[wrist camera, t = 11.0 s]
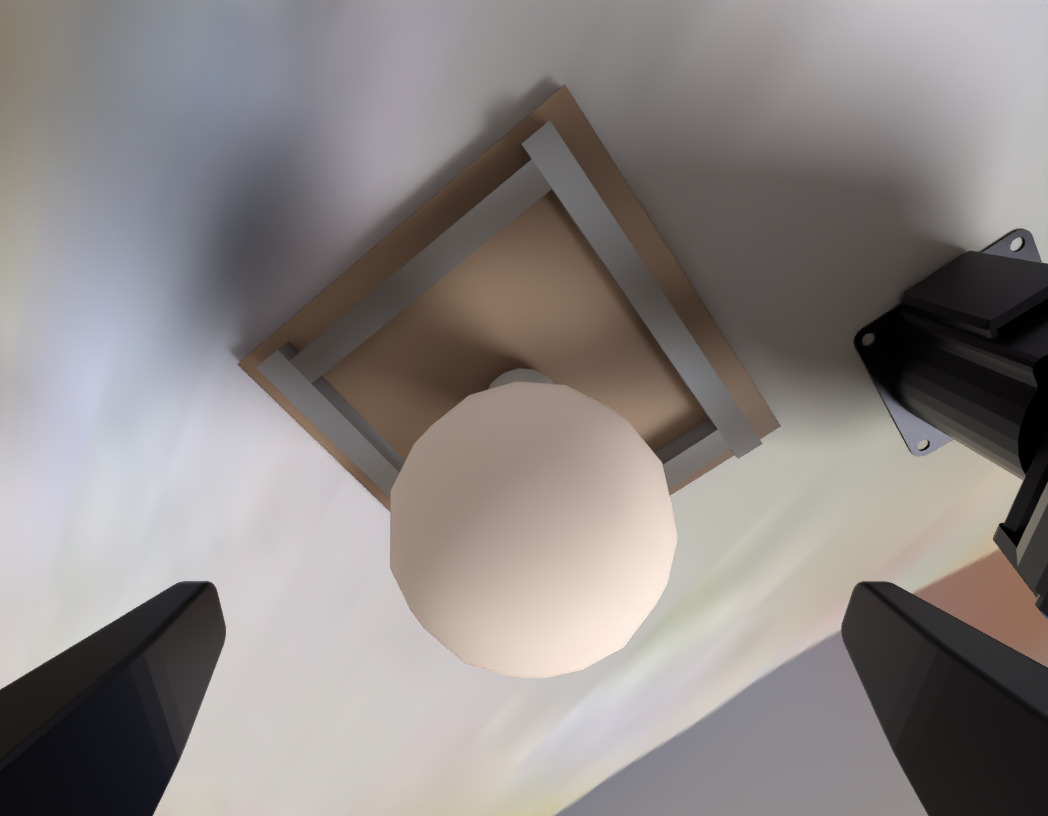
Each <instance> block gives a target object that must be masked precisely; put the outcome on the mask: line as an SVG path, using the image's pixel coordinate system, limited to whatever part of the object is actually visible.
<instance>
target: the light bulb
mask: <svg viewBox="0 0 1048 816" xmlns="http://www.w3.org/2000/svg"><path fill="white" fill-rule="evenodd" d="M677 540H678V538H677V532H676V526H675V520H674V515H673V509H672V504H671V500H670V496H669V491H668V487H667V482H666V478H665V474H664V469H663V465H662V462H661V461H660V460H659V458H658V457H657V456H656V455H655V453H654V452H653V451H652V450H651V449H650V447H649V446H648V445H647V444H646V443H645V441H644V440H643V439H642V438H641V436H640V435H639V434H638V433H637V432H636V430H635V429H634V428H633V427H632V425H631V424H630V423H629V422H628V421H627V420H626V419H624V418H623V417H622V416H621V415H619V414H618V413H617V412H616V411H614V410H613V409H612V408H611V407H609V406H607V405H605V404H603V403H601V402H599V401H597V400H595V399H593V398H591V397H589V396H587V395H585V394H583V393H581V392H579V391H577V390H575V389H573V388H570V387H568V386H566V385H558V384H554V383H553V382H552V381H551V380H550V378H549V377H548V376H546V375H544V374H542V373H540V372H538V371H536V370H532V369H520V368H518V369H515V370H511V371H508V372H505V373H503V374H502V375H500V376H499V377H498V378H497V379H495V380H494V381H493V382H492V383H491V384H490V386H489V388H488V390H485V391H482V392H478V393H475V394H471V395H469V396H468V397H466V398H465V399H464V400H463V401H461V402H460V403H459V404H458V405H456V406H455V407H454V408H453V409H451V410H450V411H449V412H448V413H446V414H445V415H444V416H443V417H441V418H440V419H439V420H438V421H436V422H435V423H434V424H433V425H431V426H430V427H429V429H428V430H427V431H426V432H425V433H424V434H423V435H422V436H421V437H420V438H419V439H418V440H417V441H416V442H415V444H414V445H413V447H412V449H411V451H410V453H409V455H408V457H407V459H406V461H405V463H404V465H403V467H402V469H401V471H400V473H399V475H398V477H397V479H396V481H395V483H394V485H393V487H392V489H391V519H390V569H391V571H392V573H393V575H394V577H395V579H396V581H397V583H398V585H399V587H400V589H401V591H402V593H403V596H404V598H405V600H406V602H407V604H408V606H409V608H410V610H411V611H412V613H413V614H414V615H415V617H416V618H417V619H418V621H419V622H420V624H421V625H422V626H423V628H424V629H425V630H427V631H428V632H429V633H430V634H431V635H432V636H433V637H435V638H436V639H437V640H438V641H439V642H440V643H442V644H443V645H444V646H445V647H446V648H447V649H449V650H450V651H451V652H452V653H453V654H454V655H456V656H457V657H458V658H459V659H460V660H461V661H462V662H464V663H466V664H469V665H472V666H476V667H479V668H482V669H486V670H489V671H492V672H496V673H499V674H502V675H506V676H509V677H550V676H555V675H560V674H565V673H570V672H575V671H580V670H582V669H584V668H586V667H588V666H590V665H592V664H593V663H595V662H597V661H599V660H601V659H603V658H604V657H606V656H608V655H610V654H612V653H614V652H615V651H617V650H619V649H621V648H623V647H624V646H625V644H626V643H627V642H628V640H629V639H630V638H631V636H632V635H633V634H634V633H635V631H636V630H637V629H638V627H639V626H640V625H641V623H642V622H643V621H644V619H645V618H646V617H647V615H648V614H649V613H650V611H651V610H652V609H653V608H654V606H655V605H656V603H657V601H658V599H659V598H660V596H661V594H662V592H663V590H664V589H665V587H666V585H667V582H668V578H669V574H670V569H671V565H672V561H673V557H674V552H675V548H676V544H677Z"/></svg>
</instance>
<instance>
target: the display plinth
mask: <svg viewBox="0 0 1048 816" xmlns="http://www.w3.org/2000/svg"><path fill="white" fill-rule="evenodd" d="M238 365H239V366H240V367H241V368H242V369H243V370H244V371H245V372H246V373H247V374H248V375H249V376H250V377H251V378H252V379H253V380H254V381H255V382H256V383H257V384H258V385H259V386H260V387H261V388H262V389H263V390H264V391H266V392H267V393H268V394H269V395H270V396H271V397H272V398H273V399H274V400H275V401H276V402H277V403H278V404H279V405H280V406H281V407H282V408H283V409H284V410H285V411H286V412H287V413H288V414H289V415H290V416H291V417H292V418H294V419H295V420H296V421H297V422H298V423H299V424H300V425H301V426H302V427H303V428H304V429H305V430H306V431H307V432H308V433H309V434H310V435H311V436H312V437H313V438H314V439H315V440H316V441H317V442H318V443H319V444H320V445H322V446H323V447H324V448H325V449H326V450H327V451H328V452H329V453H330V454H331V455H332V456H333V457H334V458H335V459H336V460H337V461H338V462H339V463H340V464H341V465H342V466H343V467H344V468H345V469H346V470H347V471H348V472H350V473H351V474H352V475H353V476H354V477H355V478H356V479H357V480H358V481H359V482H360V483H361V484H362V485H363V486H364V487H365V488H366V489H367V490H368V491H369V492H370V493H371V494H372V495H373V496H374V497H375V498H377V499H378V500H379V501H380V502H381V503H382V504H383V505H384V506H385V507H386V508H387V509H388V510H389V511H390V512H391V489H392V487H393V485H394V483H395V481H396V479H397V477H398V475H399V473H400V471H401V469H402V467H403V465H404V463H405V461H406V459H407V457H408V455H409V453H410V451H411V449H412V447H413V445H414V444H415V442H416V441H417V440H418V439H419V438H420V437H421V436H422V435H423V434H424V433H425V432H426V431H427V430H428V429H429V427H430V426H431V425H433V424H434V423H435V422H436V421H438V420H439V419H440V418H441V417H443V416H444V415H445V414H446V413H448V412H449V411H450V410H451V409H453V408H454V407H455V406H456V405H458V404H459V403H460V402H461V401H463V400H464V399H465V398H466V397H468V396H469V395H471V394H475V393H478V392H482V391H485V390H488V388H489V386H490V384H491V383H492V382H493V381H494V380H495V379H497V378H498V377H499V376H500V375H502V374H503V373H505V372H508V371H511V370H515V369H518V368H520V369H532V370H536V371H538V372H540V373H542V374H544V375H546V376H548V377H549V378H550V380H551V381H552V382H553V383H554V384H558V385H566V386H568V387H570V388H573V389H575V390H577V391H579V392H581V393H583V394H585V395H587V396H589V397H591V398H593V399H595V400H597V401H599V402H601V403H603V404H605V405H607V406H609V407H611V408H612V409H613V410H614V411H616V412H617V413H618V414H619V415H621V416H622V417H623V418H624V419H626V420H627V421H628V422H629V423H630V424H631V425H632V427H633V428H634V429H635V430H636V432H637V433H638V434H639V435H640V436H641V438H642V439H643V440H644V441H645V443H646V444H647V445H648V446H649V447H650V449H651V450H652V451H653V452H654V453H655V455H656V456H657V457H658V458H659V460H660V461H661V462H662V465H663V469H664V474H665V478H666V482H667V487H668V491H669V496H670V495H671V494H673V493H675V492H676V491H678V490H679V489H681V488H683V487H684V486H686V485H687V484H689V483H691V482H692V481H694V480H695V479H697V478H699V477H700V476H702V475H703V474H705V473H707V472H708V471H710V470H711V469H713V468H715V467H716V466H718V465H719V464H721V463H723V462H724V461H726V460H727V459H729V458H731V457H732V456H734V455H735V456H736V457H737V458H738V459H739V458H740V457H742V456H743V455H745V454H747V453H748V452H750V451H751V450H753V449H755V448H756V447H758V446H759V445H761V444H762V442H761V441H760V439H761V438H763V437H764V436H766V435H768V434H769V433H771V432H772V431H774V430H776V429H777V428H779V427H780V424H779V423H778V421H777V419H776V418H775V416H774V415H773V413H772V412H771V410H770V408H769V407H768V405H767V404H766V402H765V401H764V399H763V397H762V396H761V394H760V393H759V391H758V389H757V388H756V386H755V385H754V383H753V382H752V380H751V378H750V377H749V375H748V374H747V372H746V370H745V369H744V367H743V366H742V364H741V363H740V361H739V359H738V358H737V356H736V355H735V353H734V351H733V350H732V348H731V347H730V345H729V344H728V342H727V340H726V339H725V337H724V336H723V334H722V332H721V331H720V329H719V328H718V326H717V325H716V323H715V321H714V320H713V318H712V317H711V315H710V314H709V312H708V310H707V309H706V307H705V306H704V304H703V302H702V301H701V299H700V298H699V296H698V295H697V293H696V291H695V290H694V288H693V287H692V285H691V283H690V282H689V280H688V279H687V277H686V276H685V274H684V272H683V271H682V269H681V268H680V266H679V264H678V263H677V261H676V260H675V258H674V257H673V255H672V253H671V252H670V250H669V249H668V247H667V246H666V244H665V242H664V241H663V239H662V238H661V236H660V234H659V233H658V231H657V230H656V228H655V227H654V225H653V223H652V222H651V220H650V219H649V217H648V215H647V214H646V212H645V211H644V209H643V208H642V206H641V204H640V203H639V201H638V200H637V198H636V196H635V195H634V193H633V192H632V190H631V189H630V187H629V185H628V184H627V182H626V181H625V179H624V177H623V176H622V174H621V173H620V171H619V170H618V168H617V166H616V165H615V163H614V162H613V160H612V159H611V157H610V155H609V154H608V152H607V151H606V149H605V147H604V146H603V144H602V143H601V141H600V140H599V138H598V136H597V135H596V133H595V132H594V130H593V128H592V127H591V125H590V124H589V122H588V121H587V119H586V117H585V116H584V114H583V113H582V111H581V109H580V108H579V106H578V105H577V103H576V102H575V100H574V98H573V97H572V95H571V94H570V92H569V90H568V89H567V87H566V86H565V85H563V86H562V87H561V88H560V89H559V90H558V91H556V92H555V93H554V94H553V95H552V96H551V97H549V98H548V99H547V100H546V101H545V102H544V103H542V104H541V105H540V106H539V107H538V108H537V109H535V110H534V111H533V112H532V113H531V114H530V115H528V116H527V117H526V118H525V119H524V120H523V121H521V122H520V123H519V124H518V125H517V126H516V127H514V128H513V129H512V130H511V131H510V132H509V133H507V134H506V135H505V136H504V137H503V138H501V139H500V140H499V141H498V142H497V143H496V144H494V145H493V146H492V147H491V148H490V149H489V150H487V151H486V152H485V153H484V154H483V155H482V156H480V157H479V158H478V159H477V160H476V161H475V162H473V163H472V164H471V165H470V166H469V167H468V168H466V169H465V170H464V171H463V172H462V173H461V174H459V175H458V176H457V177H456V178H455V179H454V180H452V181H451V182H450V183H449V184H448V185H447V186H445V187H444V188H443V189H442V190H441V191H439V192H438V193H437V194H436V195H435V196H434V197H432V198H431V199H430V200H429V201H428V202H427V203H425V204H424V205H423V206H422V207H421V208H420V209H418V210H417V211H416V212H415V213H414V214H413V215H411V216H410V217H409V218H408V219H407V220H406V221H404V222H403V223H402V224H401V225H400V226H399V227H397V228H396V229H395V230H394V231H393V232H392V233H390V234H389V235H388V236H387V237H386V238H385V239H383V240H382V241H381V242H380V243H379V244H378V245H376V246H375V247H374V248H373V249H372V250H370V251H369V252H368V253H367V254H366V255H365V256H363V257H362V258H361V259H360V260H359V261H358V262H356V263H355V264H354V265H353V266H352V267H351V268H349V269H348V270H347V271H346V272H345V273H344V274H342V275H341V276H340V277H339V278H338V279H337V280H335V281H334V282H333V283H332V284H331V285H330V286H328V287H327V288H326V289H325V290H324V291H323V292H321V293H320V294H319V295H318V296H317V297H316V298H314V299H313V300H312V301H311V302H310V303H308V304H307V305H306V306H305V307H304V308H303V309H301V310H300V311H299V312H298V313H297V314H296V315H294V316H293V317H292V318H291V319H290V320H289V321H287V322H286V323H285V324H284V325H283V326H282V327H280V328H279V329H278V330H277V331H276V332H275V333H273V334H272V335H271V336H270V337H269V338H268V339H266V340H265V341H264V342H263V343H262V344H261V345H259V346H258V347H257V348H256V349H255V350H254V351H252V352H251V353H250V354H249V355H248V356H247V357H245V358H244V359H243V360H242V361H241V362H239V363H238Z"/></svg>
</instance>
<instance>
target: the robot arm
mask: <svg viewBox="0 0 1048 816" xmlns="http://www.w3.org/2000/svg"><path fill="white" fill-rule="evenodd" d="M1018 237H1022V239H1023V245H1022V247H1021V248H1020V249H1019V250H1018V251H1016V252H1012V251H1011V250H1010V245H1011V242H1012V241H1013V240H1014V239H1015V238H1018ZM899 301H900V303H901V304H899V305H898V306H896V307H895V308H893V309H892V310H890V311H888V312H887V313H885V314H884V315H882V316H881V317H879V318H878V319H876V320H874V321H873V322H871V323H870V324H868V325H867V326H865V327H864V328H862V329H861V330H860V331H859V332H857V334H856V336H855V338H854V346H855V349H856V351H857V352H858V354H859V356H860V358H861V360H862V362H863V364H864V365H865V367H866V369H867V371H868V373H869V375H870V377H871V379H872V380H873V382H874V384H875V386H876V388H877V390H878V392H879V394H880V395H881V397H882V399H883V401H884V403H885V405H886V407H887V409H888V410H889V412H890V414H891V416H892V418H893V420H894V422H895V424H896V425H897V427H898V429H899V431H900V433H901V435H902V437H903V439H904V440H905V442H906V444H907V446H908V448H909V450H910V452H911V453H912V454H913V455H915V456H925V455H927V454H929V453H931V452H933V451H934V450H936V449H938V448H940V447H941V446H943V445H945V444H947V443H948V442H950V441H952V440H956V441H958V442H960V443H961V444H963V445H965V446H966V447H968V448H970V449H971V450H973V451H975V452H976V453H978V454H980V455H981V456H983V457H985V458H986V459H988V460H990V461H992V462H993V463H995V464H997V465H998V466H1000V467H1002V468H1003V469H1005V470H1007V471H1008V472H1010V473H1012V474H1013V475H1015V476H1017V477H1018V478H1020V479H1022V480H1023V482H1022V484H1021V487H1020V489H1019V491H1018V493H1017V496H1016V498H1015V500H1014V502H1013V504H1012V507H1011V509H1010V511H1009V513H1008V516H1007V518H1006V520H1005V522H1004V523H1000V524H999V526H998V528H997V530H996V532H995V535H994V537H993V540H994V542H995V543H996V544H997V546H998V547H999V548H1000V550H1001V551H1002V552H1003V554H1004V555H1005V556H1006V558H1007V559H1008V560H1009V562H1010V563H1011V564H1012V565H1013V567H1014V568H1015V570H1016V571H1017V572H1018V573H1019V575H1020V576H1021V578H1022V579H1023V580H1024V582H1025V583H1026V584H1027V585H1028V587H1029V588H1030V589H1031V591H1032V592H1033V593H1034V595H1035V596H1036V597H1037V599H1036V601H1035V605H1036V607H1037V608H1038V609H1039V610H1040V612H1041V613H1042V614H1043V616H1044V617H1045V618H1046V619H1048V264H1047V263H1042V261H1041V258H1040V256H1039V253H1038V250H1037V247H1036V245H1035V242H1034V239H1033V236H1032V234H1031V233H1030V232H1029V231H1027V230H1025V229H1020V230H1015V231H1013V232H1011V233H1009V234H1008V235H1006V236H1005V237H1003V238H1002V239H1000V240H999V241H997V242H996V243H994V244H992V245H991V246H989V247H988V248H986V249H985V250H983V251H982V252H975V251H968V252H966V253H964V254H963V255H961V256H960V257H958V258H957V259H955V260H954V261H952V262H950V263H949V264H947V265H946V266H944V267H943V268H941V269H940V270H938V271H937V272H935V273H933V274H932V275H930V276H929V277H927V278H926V279H924V280H923V281H921V282H920V283H918V284H916V285H915V286H913V287H912V288H910V289H909V290H907V291H906V292H904V293H903V295H902V296H901V298H900V300H899ZM868 333H873V334H874V341H873V342H872V343H871V344H870V345H868V346H864V345H863V344H862V341H861V340H862V338H863V336H864V335H865V334H868ZM922 440H928V441H929V444H928V447H927V448H925V449H924V450H918V449H917V445H918V443H919V442H920V441H922ZM841 632H842V638H843V642H844V644H845V647H846V649H847V651H848V653H849V656H850V658H851V660H852V662H853V665H854V666H855V669H856V671H857V673H858V676H859V678H860V680H861V682H862V685H863V687H864V689H865V691H866V694H867V696H868V698H869V700H870V702H871V705H872V707H873V709H874V711H875V714H876V716H877V718H878V720H879V722H880V725H881V727H882V729H883V731H884V733H885V736H886V738H887V740H888V742H889V744H890V746H891V748H892V750H893V752H894V754H895V756H896V758H897V759H898V762H899V764H900V765H901V767H902V769H903V771H904V773H905V774H906V776H907V778H908V780H909V782H910V784H911V785H912V787H913V789H914V791H915V793H916V794H917V796H918V798H919V800H920V801H921V803H922V805H923V807H924V809H925V810H926V812H927V814H928V816H1048V668H1047V667H1045V666H1043V665H1042V664H1040V663H1038V662H1036V661H1034V660H1032V659H1031V658H1029V657H1027V656H1025V655H1023V654H1022V653H1020V652H1018V651H1016V650H1014V649H1012V648H1011V647H1009V646H1007V645H1005V644H1003V643H1001V642H999V641H998V640H996V639H994V638H992V637H990V636H988V635H986V634H985V633H983V632H981V631H979V630H977V629H976V628H974V627H972V626H970V625H968V624H966V623H964V622H963V621H961V620H959V619H957V618H955V617H953V616H952V615H950V614H948V613H946V612H944V611H942V610H941V609H939V608H937V607H935V606H933V605H931V604H930V603H928V602H926V601H924V600H922V599H920V598H918V597H917V596H915V595H913V594H911V593H909V592H908V591H906V590H904V589H902V588H900V587H898V586H897V585H895V584H893V583H890V582H885V581H863V582H860V583H858V584H857V585H856V586H855V587H854V589H853V592H852V595H851V598H850V601H849V604H848V607H847V610H846V613H845V616H844V619H843V622H842V629H841ZM225 636H226V626H225V621H224V617H223V613H222V609H221V605H220V601H219V596H218V592H217V589H216V587H215V585H214V584H213V583H211V582H209V581H183V582H179V583H177V584H175V585H173V586H171V587H170V588H168V589H166V590H165V591H163V592H161V593H160V594H158V595H156V596H155V597H153V598H151V599H150V600H148V601H146V602H145V603H143V604H141V605H140V606H138V607H136V608H135V609H133V610H132V611H130V612H128V613H127V614H125V615H123V616H122V617H120V618H118V619H117V620H115V621H113V622H112V623H110V624H108V625H107V626H105V627H103V628H102V629H100V630H98V631H97V632H95V633H93V634H92V635H90V636H88V637H87V638H85V639H83V640H82V641H80V642H78V643H77V644H75V645H74V646H72V647H70V648H69V649H67V650H65V651H64V652H62V653H60V654H59V655H57V656H55V657H54V658H52V659H50V660H49V661H47V662H45V663H44V664H42V665H40V666H39V667H37V668H35V669H34V670H32V671H30V672H29V673H27V674H25V675H24V676H22V677H20V678H19V679H17V680H15V681H14V682H12V683H11V684H9V685H7V686H6V687H4V688H2V689H1V690H0V816H153V814H154V812H155V810H156V808H157V806H158V804H159V802H160V800H161V798H162V796H163V794H164V792H165V790H166V788H167V785H168V783H169V781H170V779H171V777H172V775H173V773H174V771H175V769H176V766H177V764H178V762H179V760H180V758H181V755H182V753H183V750H184V748H185V745H186V743H187V740H188V738H189V735H190V733H191V730H192V727H193V725H194V722H195V719H196V717H197V714H198V711H199V709H200V706H201V704H202V701H203V698H204V696H205V693H206V690H207V688H208V685H209V682H210V680H211V677H212V675H213V672H214V669H215V667H216V664H217V661H218V659H219V656H220V653H221V651H222V648H223V645H224V642H225Z"/></svg>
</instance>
